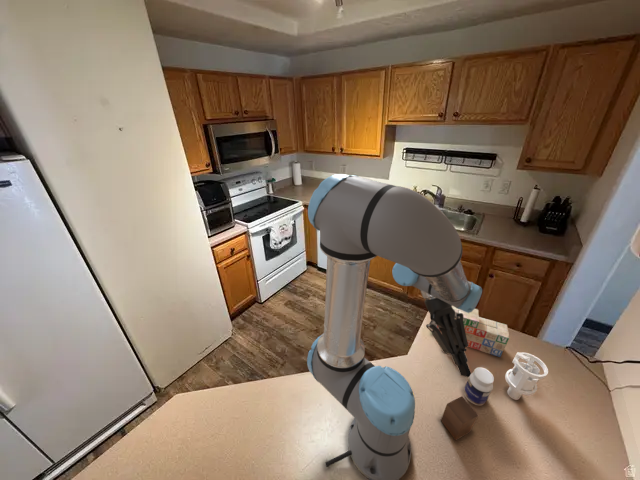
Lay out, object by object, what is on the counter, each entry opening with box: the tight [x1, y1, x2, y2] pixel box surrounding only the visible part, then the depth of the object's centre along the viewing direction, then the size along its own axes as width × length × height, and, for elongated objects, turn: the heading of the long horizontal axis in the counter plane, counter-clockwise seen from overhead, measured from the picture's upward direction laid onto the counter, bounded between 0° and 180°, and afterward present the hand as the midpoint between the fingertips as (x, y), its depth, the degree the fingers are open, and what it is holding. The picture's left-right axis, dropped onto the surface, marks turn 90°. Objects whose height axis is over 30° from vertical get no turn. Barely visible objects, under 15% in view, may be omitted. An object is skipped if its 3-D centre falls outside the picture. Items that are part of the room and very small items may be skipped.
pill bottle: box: [463, 366, 495, 406], centre depth 72 cm, size 6×6×10 cm
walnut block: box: [440, 396, 479, 441], centre depth 66 cm, size 5×5×8 cm
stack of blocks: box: [431, 306, 510, 358], centre depth 89 cm, size 21×6×12 cm, turn 63°
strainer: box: [504, 351, 549, 401], centre depth 71 cm, size 7×7×15 cm
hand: (466, 375), depth 76 cm, fingers closed
